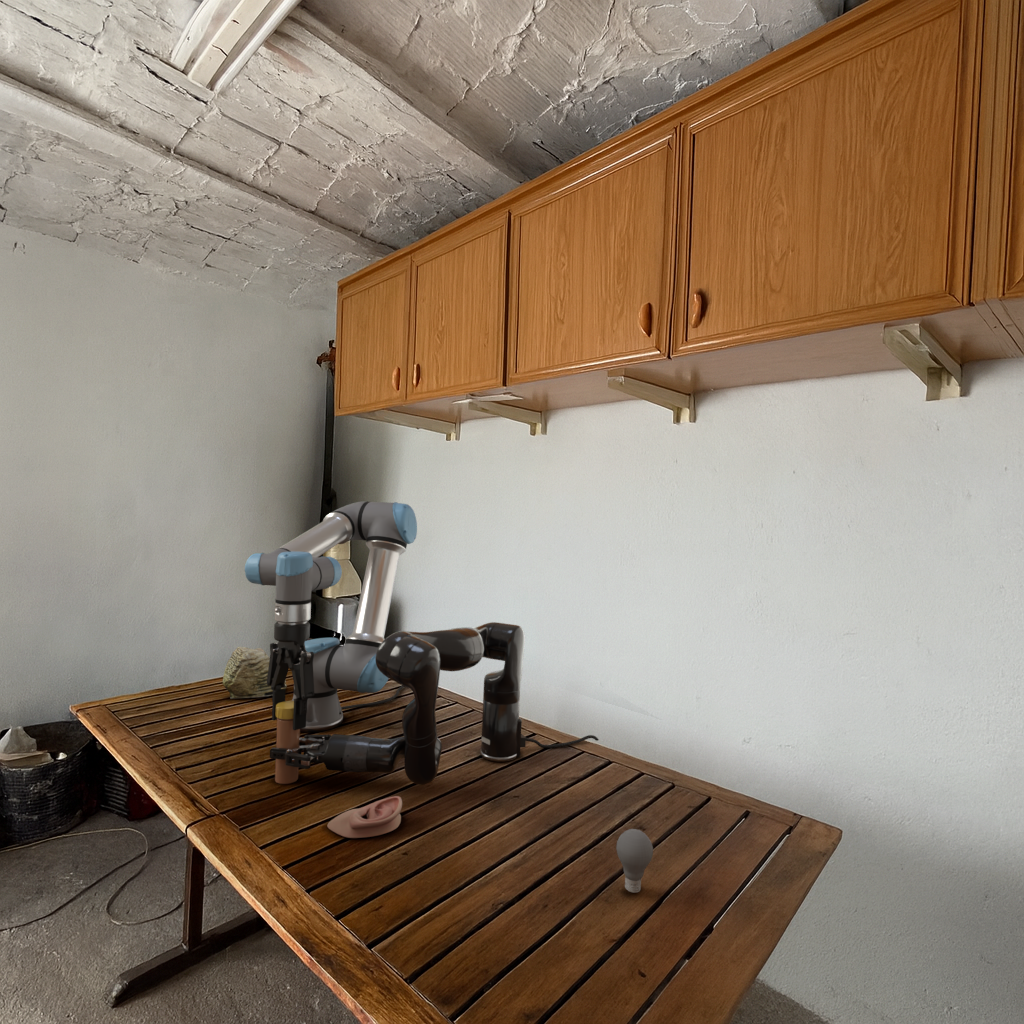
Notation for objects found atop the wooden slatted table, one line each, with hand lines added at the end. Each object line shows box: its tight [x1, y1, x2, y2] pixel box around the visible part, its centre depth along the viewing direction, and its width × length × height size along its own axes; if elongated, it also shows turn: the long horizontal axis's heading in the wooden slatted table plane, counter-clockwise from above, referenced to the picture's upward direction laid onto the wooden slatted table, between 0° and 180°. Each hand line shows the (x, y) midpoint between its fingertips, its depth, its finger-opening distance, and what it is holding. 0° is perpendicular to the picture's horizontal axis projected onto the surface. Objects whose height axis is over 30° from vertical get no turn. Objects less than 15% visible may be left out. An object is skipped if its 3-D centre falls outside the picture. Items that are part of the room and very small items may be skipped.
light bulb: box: [615, 828, 654, 894], centre depth 106 cm, size 6×6×10 cm
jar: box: [274, 718, 301, 785], centre depth 141 cm, size 5×5×16 cm
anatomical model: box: [327, 795, 403, 839], centre depth 123 cm, size 13×4×12 cm
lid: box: [275, 700, 294, 719], centre depth 141 cm, size 6×6×2 cm
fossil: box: [222, 646, 288, 699], centre depth 198 cm, size 9×18×15 cm, turn 132°
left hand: (288, 723), depth 141 cm, fingers open, 8 cm apart
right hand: (276, 748), depth 141 cm, fingers closed on jar, 5 cm apart
